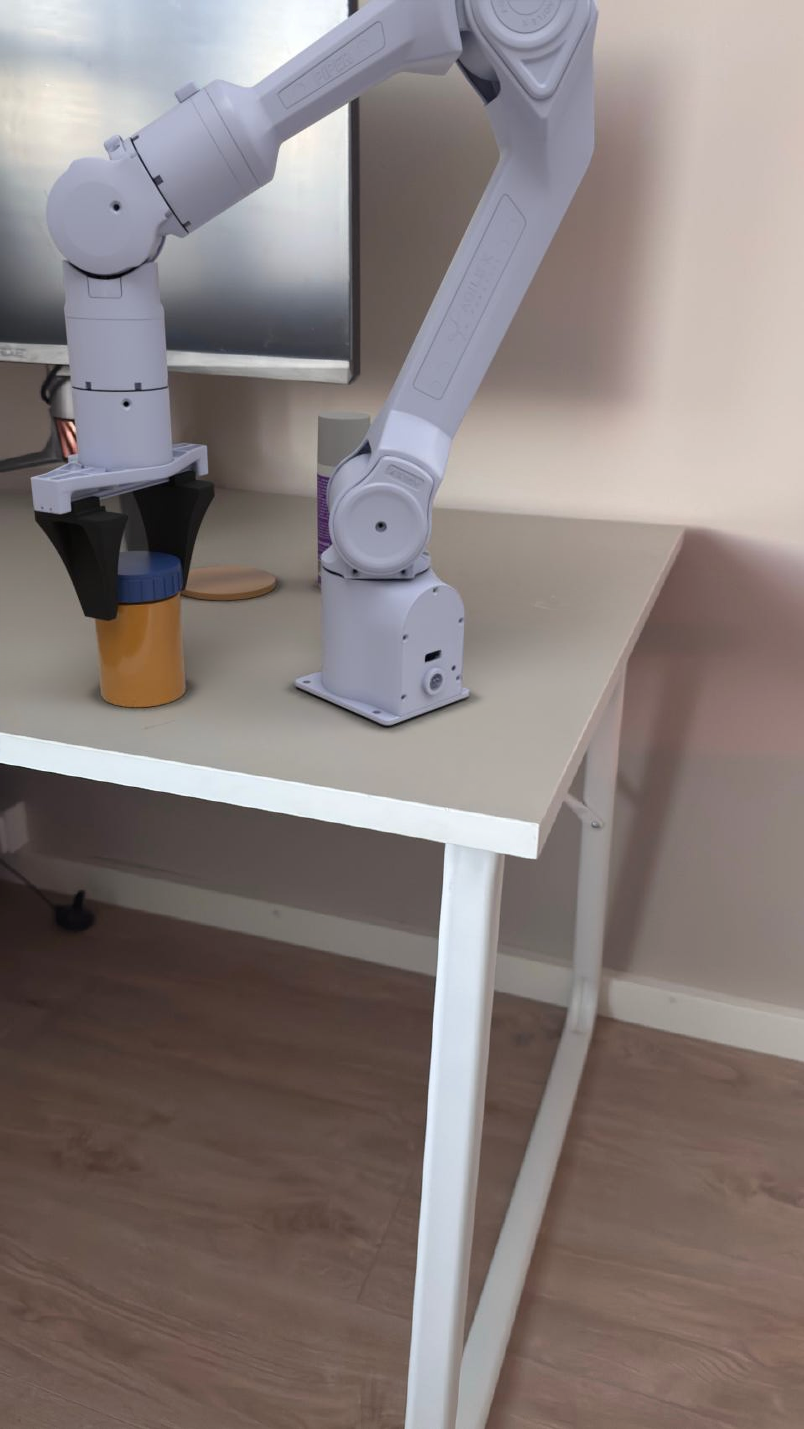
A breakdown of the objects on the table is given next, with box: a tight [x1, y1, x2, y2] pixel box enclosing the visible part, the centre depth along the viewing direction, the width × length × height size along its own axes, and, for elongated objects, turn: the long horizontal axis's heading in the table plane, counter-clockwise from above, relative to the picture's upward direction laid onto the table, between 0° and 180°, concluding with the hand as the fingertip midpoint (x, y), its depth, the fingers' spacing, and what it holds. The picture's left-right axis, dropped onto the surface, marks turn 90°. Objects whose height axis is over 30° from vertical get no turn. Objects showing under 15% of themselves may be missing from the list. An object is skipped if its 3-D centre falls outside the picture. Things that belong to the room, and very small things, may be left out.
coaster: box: [180, 565, 277, 601], centre depth 96 cm, size 9×9×1 cm
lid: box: [118, 550, 183, 603], centre depth 70 cm, size 6×6×2 cm
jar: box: [93, 592, 187, 708], centre depth 71 cm, size 6×6×9 cm
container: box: [316, 411, 371, 590], centre depth 94 cm, size 5×5×15 cm
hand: (136, 602), depth 70 cm, fingers open, 7 cm apart
